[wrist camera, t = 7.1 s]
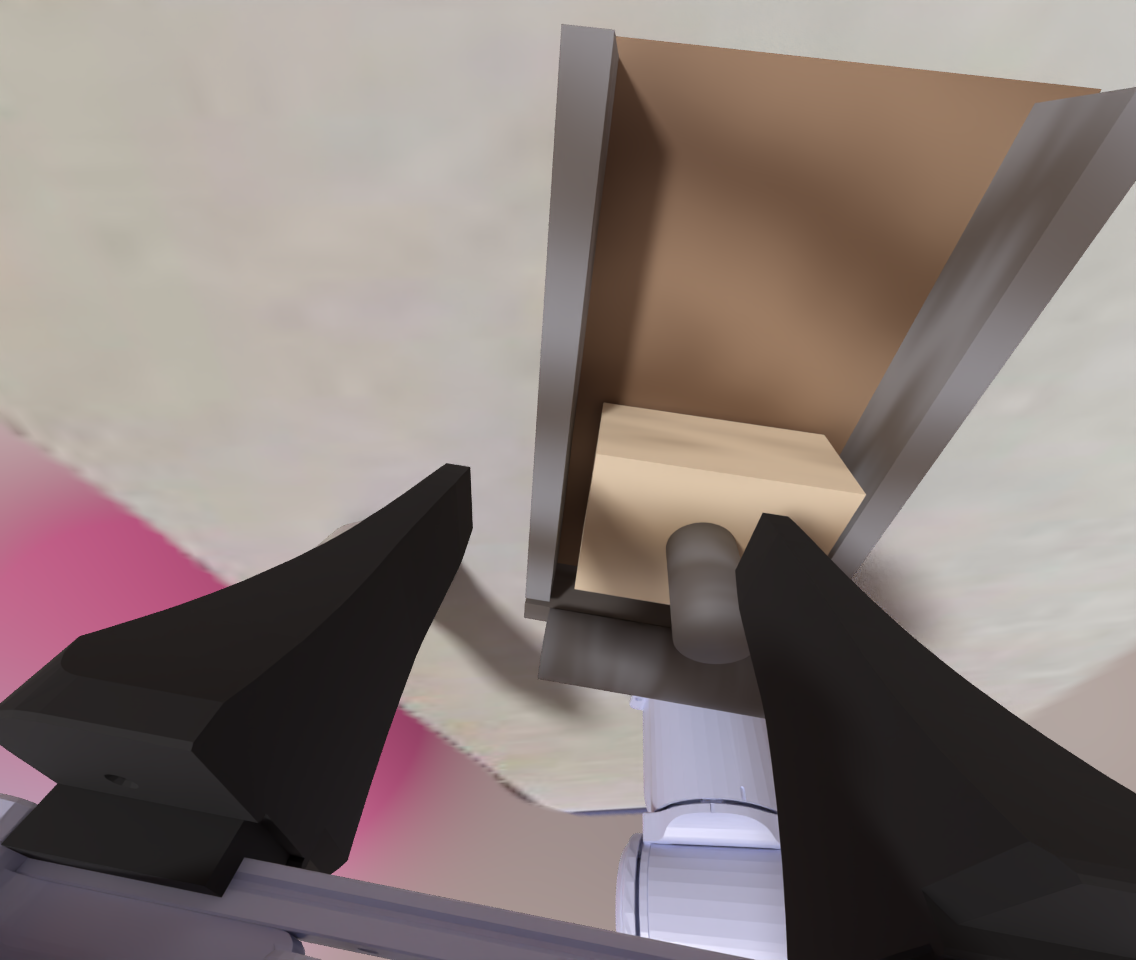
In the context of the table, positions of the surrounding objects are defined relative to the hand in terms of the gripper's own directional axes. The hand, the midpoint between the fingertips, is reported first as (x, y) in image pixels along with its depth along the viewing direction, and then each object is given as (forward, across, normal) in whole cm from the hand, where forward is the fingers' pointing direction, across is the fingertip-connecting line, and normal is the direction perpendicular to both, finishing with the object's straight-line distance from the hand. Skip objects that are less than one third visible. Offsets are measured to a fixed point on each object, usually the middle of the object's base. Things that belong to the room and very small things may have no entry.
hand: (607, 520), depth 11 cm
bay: (+9, -4, +1) cm, 10 cm away
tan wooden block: (+8, -4, +4) cm, 10 cm away
